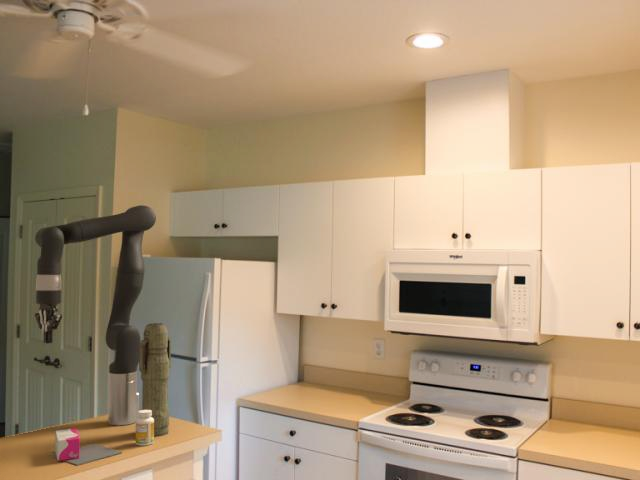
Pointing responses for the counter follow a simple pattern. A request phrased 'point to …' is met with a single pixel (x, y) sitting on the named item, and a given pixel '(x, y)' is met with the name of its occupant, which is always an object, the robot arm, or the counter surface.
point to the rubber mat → (91, 454)
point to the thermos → (155, 374)
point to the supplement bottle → (144, 428)
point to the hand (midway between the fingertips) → (47, 343)
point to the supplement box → (67, 444)
